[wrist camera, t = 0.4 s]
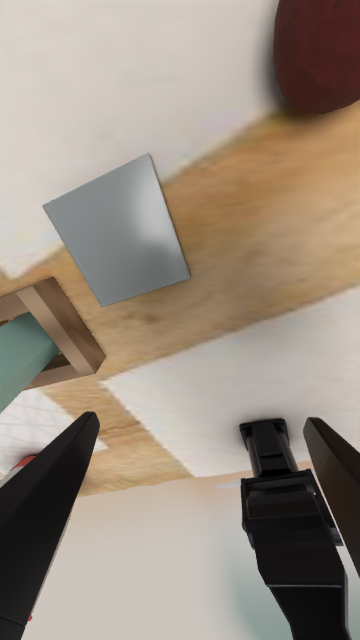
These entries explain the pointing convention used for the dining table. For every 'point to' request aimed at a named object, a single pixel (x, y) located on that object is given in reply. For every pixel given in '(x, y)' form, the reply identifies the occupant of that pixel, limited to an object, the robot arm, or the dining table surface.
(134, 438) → the dining table surface
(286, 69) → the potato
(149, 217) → the slate coaster
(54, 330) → the walnut pocket
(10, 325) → the teal block
